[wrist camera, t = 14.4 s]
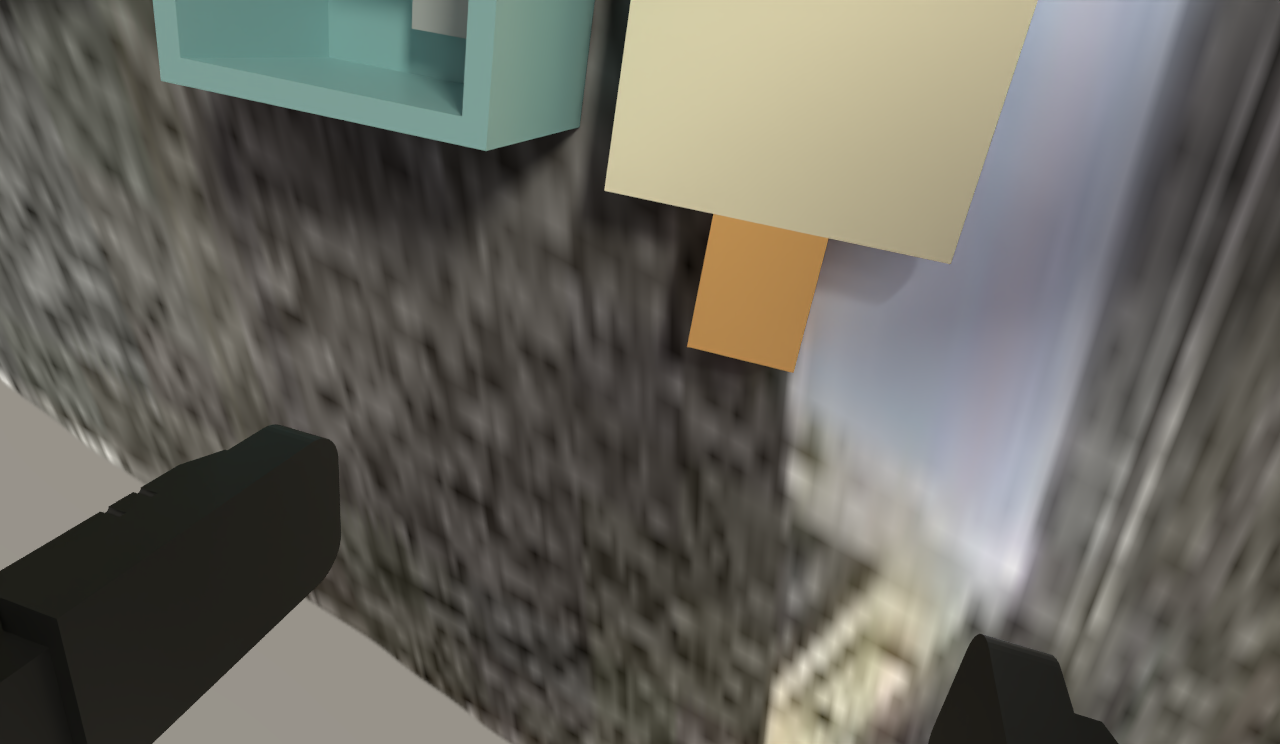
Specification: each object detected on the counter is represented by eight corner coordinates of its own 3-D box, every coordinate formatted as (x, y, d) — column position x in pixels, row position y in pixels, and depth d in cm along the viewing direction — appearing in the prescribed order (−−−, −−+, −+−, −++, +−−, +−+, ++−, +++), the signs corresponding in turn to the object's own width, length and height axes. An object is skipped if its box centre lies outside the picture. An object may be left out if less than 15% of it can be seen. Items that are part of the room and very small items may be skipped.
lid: (1136, -347, 20) (1169, -398, 18) (901, 376, 29) (905, 400, 27) (705, -376, 23) (690, -425, 20) (604, 304, 31) (586, 321, 29)
